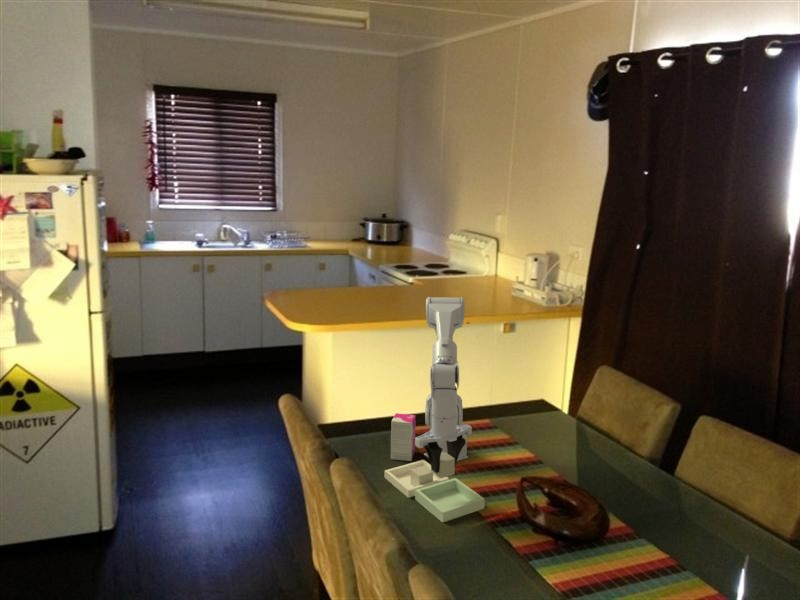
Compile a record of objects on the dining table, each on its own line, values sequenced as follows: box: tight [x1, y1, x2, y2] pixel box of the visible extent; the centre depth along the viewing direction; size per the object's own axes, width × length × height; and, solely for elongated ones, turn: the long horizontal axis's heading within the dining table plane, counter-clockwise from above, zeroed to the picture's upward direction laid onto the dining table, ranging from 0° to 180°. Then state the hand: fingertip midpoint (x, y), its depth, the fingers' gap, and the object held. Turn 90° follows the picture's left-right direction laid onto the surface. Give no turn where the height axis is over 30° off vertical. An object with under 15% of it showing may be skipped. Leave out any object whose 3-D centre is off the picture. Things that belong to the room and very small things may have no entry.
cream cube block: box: [431, 452, 456, 478], centre depth 160 cm, size 4×4×4 cm
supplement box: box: [390, 413, 417, 462], centre depth 183 cm, size 6×6×12 cm
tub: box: [414, 477, 485, 523], centre depth 160 cm, size 12×12×3 cm
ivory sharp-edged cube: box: [411, 466, 433, 487], centre depth 168 cm, size 4×4×4 cm
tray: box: [384, 459, 450, 499], centre depth 170 cm, size 12×12×2 cm
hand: (443, 468), depth 160 cm, fingers closed on cream cube block, 4 cm apart
